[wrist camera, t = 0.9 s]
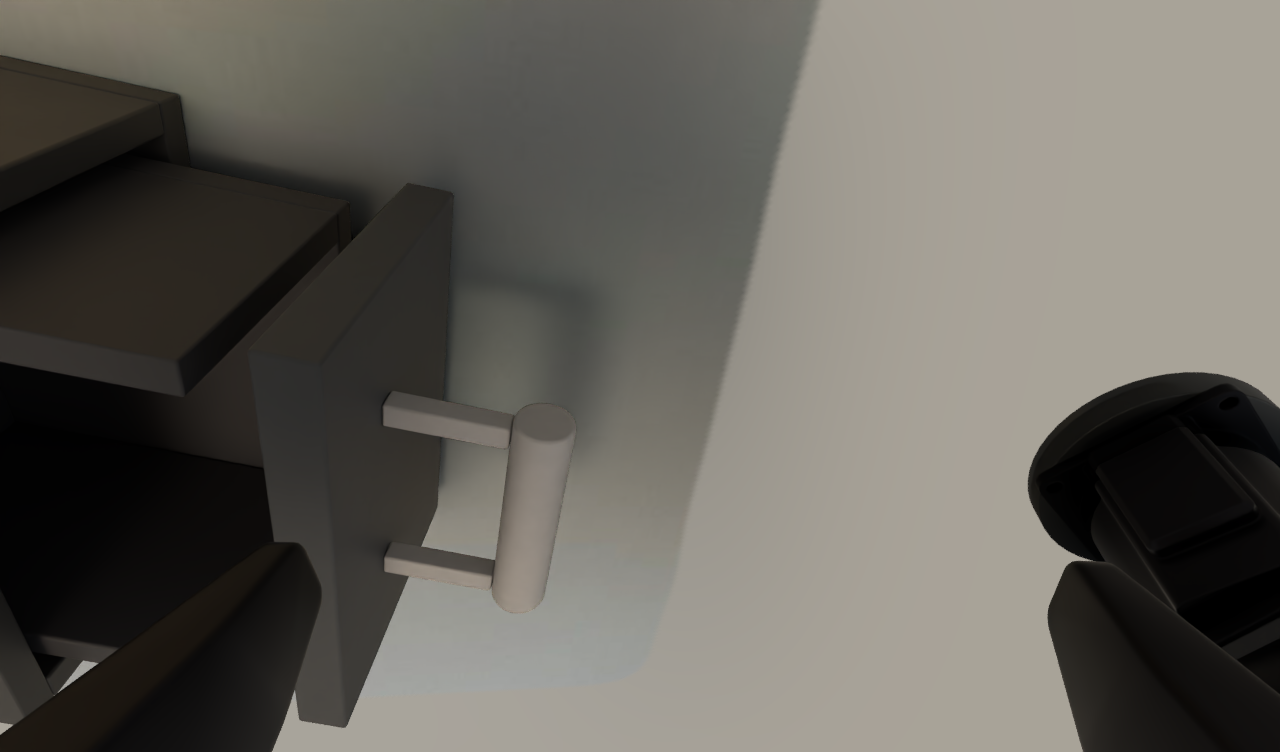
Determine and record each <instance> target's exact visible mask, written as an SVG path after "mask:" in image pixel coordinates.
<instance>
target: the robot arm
mask: <svg viewBox="0 0 1280 752" xmlns="http://www.w3.org/2000/svg"><path fill="white" fill-rule="evenodd" d="M1226 398H1228V399H1226ZM1224 399H1226V400H1225V401H1223V400H1224ZM1221 401H1222V402H1221ZM1054 482H1056V483H1054ZM1051 483H1054V484H1052V485H1050V484H1051ZM1035 485H1036V487H1037V489H1038V490H1039V492H1040V494H1041V495H1042V496H1043V498H1044V499H1045V500H1046V501H1047V502H1048V504H1049V505H1050V506H1051V507H1052V508H1053V509H1054V511H1055V512H1056V513H1057V514H1058V515H1059V516H1060V518H1061V519H1062V520H1063V521H1064V522H1065V523H1066V525H1067V526H1068V527H1069V528H1070V529H1071V531H1072V532H1073V533H1074V534H1075V535H1076V536H1077V538H1078V539H1079V540H1080V541H1081V542H1082V543H1083V545H1084V546H1085V547H1086V548H1087V549H1088V550H1089V552H1090V553H1091V554H1092V555H1093V556H1094V557H1095V559H1096V560H1097V561H1074V562H1071V563H1070V564H1068V565H1067V566H1066V568H1065V570H1064V572H1063V574H1062V576H1061V579H1060V581H1059V584H1058V586H1057V588H1056V591H1055V593H1054V595H1053V598H1052V600H1051V602H1050V605H1049V608H1048V626H1049V630H1050V634H1051V638H1052V641H1053V645H1054V649H1055V652H1056V655H1057V659H1058V663H1059V667H1060V670H1061V674H1062V678H1063V681H1064V685H1065V688H1066V692H1067V696H1068V699H1069V703H1070V707H1071V710H1072V714H1073V718H1074V721H1075V725H1076V729H1077V732H1078V736H1079V739H1080V743H1081V746H1082V749H1083V752H1280V450H1279V449H1278V447H1277V445H1276V444H1275V442H1274V440H1273V439H1272V437H1271V435H1270V434H1269V432H1268V431H1267V429H1266V427H1265V426H1264V424H1263V422H1262V421H1261V419H1260V417H1259V416H1258V414H1257V412H1256V411H1255V409H1254V407H1253V406H1252V404H1251V402H1250V401H1249V399H1248V397H1247V396H1246V394H1244V393H1243V392H1242V391H1241V390H1240V389H1239V388H1238V387H1237V386H1236V385H1235V384H1231V383H1223V384H1219V385H1217V386H1214V387H1212V388H1210V389H1208V390H1206V391H1204V392H1202V393H1200V394H1198V395H1196V396H1194V397H1192V398H1190V399H1188V400H1186V401H1184V402H1182V403H1180V404H1178V405H1176V406H1174V407H1172V408H1170V409H1168V410H1166V411H1164V412H1162V413H1160V414H1158V415H1156V416H1154V417H1152V418H1150V419H1148V420H1146V421H1144V422H1142V423H1140V424H1138V425H1136V426H1134V427H1132V428H1130V429H1128V430H1126V431H1124V432H1122V433H1120V434H1118V435H1116V436H1114V437H1112V438H1110V439H1107V440H1105V441H1103V442H1101V443H1099V444H1097V445H1095V446H1093V447H1091V448H1089V449H1087V450H1085V451H1083V452H1081V453H1079V454H1077V455H1075V456H1073V457H1071V458H1069V459H1067V460H1065V461H1063V462H1061V463H1059V464H1057V465H1055V466H1053V467H1051V468H1049V469H1047V470H1045V471H1043V472H1042V473H1040V474H1039V475H1038V476H1037V477H1036V479H1035ZM321 603H322V586H321V583H320V580H319V578H318V576H317V574H316V572H315V569H314V567H313V565H312V563H311V560H310V558H309V556H308V554H307V552H306V550H305V548H304V547H303V546H302V545H301V544H299V543H296V542H268V543H265V544H263V545H261V546H260V547H258V548H257V549H255V550H254V551H252V552H251V553H250V554H248V555H247V556H246V557H244V558H243V559H241V560H240V561H239V562H237V563H236V564H235V565H233V566H232V567H230V568H229V569H228V570H226V571H225V572H224V573H222V574H221V575H219V576H218V577H217V578H215V579H214V580H213V581H211V582H210V583H208V584H207V585H206V586H204V587H203V588H202V589H200V590H199V591H197V592H196V593H195V594H193V595H192V596H191V597H189V598H188V599H186V600H185V601H184V602H182V603H181V604H180V605H178V606H177V607H175V608H174V609H173V610H171V611H170V612H169V613H167V614H166V615H164V616H163V617H162V618H160V619H159V620H158V621H156V622H155V623H153V624H152V625H151V626H149V627H148V628H147V629H145V630H144V631H142V632H141V633H140V634H138V635H137V636H136V637H134V638H133V639H131V640H130V641H129V642H127V643H126V644H125V645H123V646H122V647H120V648H119V649H118V650H116V651H115V652H114V653H112V654H111V655H109V656H108V657H107V658H105V659H104V660H103V661H101V662H100V663H98V664H97V665H96V666H94V667H93V668H92V669H90V670H89V671H87V672H86V673H85V674H83V675H82V676H81V677H79V678H78V679H76V680H75V681H74V682H72V683H71V684H70V685H68V686H67V687H65V688H64V689H63V690H61V691H60V692H59V693H57V694H56V695H54V696H53V697H52V698H50V699H49V700H48V701H46V702H45V703H43V704H42V705H41V706H39V707H38V708H37V709H35V710H34V711H32V712H31V713H30V714H28V715H27V716H26V717H24V718H23V719H21V720H20V721H19V722H17V723H16V724H15V725H13V726H12V727H11V728H9V729H8V730H6V731H5V732H4V733H2V734H1V735H0V752H272V750H273V748H274V745H275V743H276V740H277V738H278V735H279V733H280V731H281V728H282V726H283V723H284V720H285V717H286V714H287V711H288V708H289V706H290V703H291V699H292V696H293V693H294V690H295V687H296V684H297V680H298V677H299V674H300V671H301V668H302V664H303V661H304V658H305V655H306V652H307V649H308V645H309V642H310V639H311V636H312V633H313V630H314V626H315V623H316V620H317V617H318V614H319V610H320V607H321Z"/></svg>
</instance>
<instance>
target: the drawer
mask: <svg viewBox="0 0 1280 752" xmlns="http://www.w3.org/2000/svg"><path fill="white" fill-rule="evenodd" d="M453 199H454V195H453V193H452V192H448V191H443V190H439V189H434V188H429V187H425V186H420V185H416V184H411V183H407V184H406V185H405V186H404V187H403V188H402V189H401V190H400V191H399V192H398V193H397V194H396V195H395V196H394V197H393V199H392V200H391V201H390V202H389V203H388V204H387V205H386V206H385V207H384V208H383V209H382V210H381V211H380V212H379V213H378V214H377V215H376V216H375V217H374V218H373V219H372V220H371V222H370V223H369V224H368V225H367V226H366V227H365V228H364V229H363V230H362V231H361V232H360V233H359V234H358V235H357V236H356V237H355V238H354V239H353V240H352V241H351V226H350V203H349V202H348V201H343V200H339V199H334V198H329V197H325V196H320V195H315V194H311V193H306V192H301V191H296V190H292V189H287V188H282V187H278V186H273V185H268V184H264V183H259V182H254V181H250V180H245V179H240V178H236V177H231V176H226V175H222V174H217V173H212V172H208V171H203V170H198V169H194V168H189V167H184V166H179V165H175V164H170V163H165V162H161V161H156V160H151V159H147V158H142V157H137V156H133V155H128V154H122V155H119V156H117V157H115V158H113V159H111V160H109V161H107V162H105V163H103V164H101V165H98V166H96V167H94V168H92V169H90V170H88V171H86V172H84V173H82V174H80V175H77V176H75V177H73V178H71V179H69V180H67V181H65V182H63V183H61V184H58V185H56V186H54V187H52V188H50V189H48V190H46V191H44V192H42V193H40V194H37V195H35V196H33V197H31V198H29V199H27V200H25V201H23V202H21V203H19V204H16V205H14V206H12V207H10V208H8V209H6V210H4V211H2V212H0V589H1V591H2V593H3V595H4V597H5V599H6V601H7V603H8V605H9V607H10V609H11V611H12V613H13V615H14V617H15V619H16V621H17V623H18V625H19V627H20V629H21V631H22V633H23V635H24V637H25V639H26V641H27V643H28V645H29V647H30V649H31V651H32V652H37V653H43V654H48V655H54V656H60V657H66V658H72V659H78V660H84V661H89V662H95V663H100V662H101V661H103V660H104V659H105V658H107V657H108V656H109V655H111V654H112V653H114V652H115V651H116V650H118V649H119V648H120V647H122V646H123V645H125V644H126V643H127V642H129V641H130V640H131V639H133V638H134V637H136V636H137V635H138V634H140V633H141V632H142V631H144V630H145V629H147V628H148V627H149V626H151V625H152V624H153V623H155V622H156V621H158V620H159V619H160V618H162V617H163V616H164V615H166V614H167V613H169V612H170V611H171V610H173V609H174V608H175V607H177V606H178V605H180V604H181V603H182V602H184V601H185V600H186V599H188V598H189V597H191V596H192V595H193V594H195V593H196V592H197V591H199V590H200V589H202V588H203V587H204V586H206V585H207V584H208V583H210V582H211V581H213V580H214V579H215V578H217V577H218V576H219V575H221V574H222V573H224V572H225V571H226V570H228V569H229V568H230V567H232V566H233V565H235V564H236V563H237V562H239V561H240V560H241V559H243V558H244V557H246V556H247V555H248V554H250V553H251V552H252V551H254V550H255V549H257V548H258V547H260V546H261V545H263V544H265V543H268V542H296V543H299V544H301V545H302V546H303V547H304V548H305V550H306V552H307V554H308V556H309V558H310V560H311V563H312V565H313V567H314V569H315V572H316V574H317V576H318V578H319V580H320V583H321V586H322V603H321V607H320V610H319V614H318V617H317V620H316V623H315V626H314V630H313V633H312V636H311V639H310V642H309V645H308V649H307V652H306V655H305V658H304V661H303V664H302V668H301V671H300V674H299V677H298V680H297V684H296V687H295V693H296V700H297V707H298V713H299V719H300V720H301V721H306V722H312V723H318V724H324V725H330V726H336V727H342V728H344V727H346V726H347V724H348V722H349V719H350V717H351V715H352V712H353V710H354V707H355V705H356V703H357V700H358V698H359V695H360V693H361V690H362V688H363V686H364V683H365V681H366V678H367V676H368V674H369V671H370V669H371V666H372V664H373V661H374V659H375V657H376V654H377V652H378V649H379V647H380V645H381V642H382V640H383V637H384V635H385V632H386V630H387V628H388V625H389V623H390V620H391V618H392V616H393V613H394V611H395V608H396V606H397V603H398V601H399V599H400V596H401V594H402V591H403V589H404V587H405V584H406V582H407V579H408V577H409V576H411V577H416V578H422V579H427V580H433V581H438V582H444V583H449V584H455V585H460V586H466V587H471V588H477V589H482V590H490V589H491V586H492V596H493V598H494V600H495V602H496V603H497V605H498V606H499V607H501V608H502V609H503V610H505V611H508V612H511V613H526V612H529V611H531V610H533V609H535V608H536V607H537V606H538V605H539V604H540V603H541V602H542V600H543V598H544V594H545V589H546V584H547V579H548V574H549V569H550V563H551V558H552V553H553V548H554V543H555V538H556V533H557V528H558V522H559V517H560V512H561V507H562V502H563V497H564V492H565V487H566V482H567V476H568V471H569V466H570V461H571V456H572V451H573V446H574V441H575V436H576V430H577V426H576V422H575V420H574V418H573V417H572V415H571V414H570V413H569V412H568V411H566V410H565V409H563V408H561V407H559V406H556V405H552V404H547V403H536V404H531V405H528V406H525V407H523V408H522V409H520V410H519V411H518V412H517V414H516V415H515V417H514V415H512V414H507V413H502V412H497V411H492V410H487V409H482V408H477V407H472V406H467V405H462V404H457V403H452V402H447V401H443V390H444V371H445V352H446V333H447V314H448V295H449V276H450V257H451V238H452V219H453ZM441 437H444V438H450V439H455V440H460V441H465V442H470V443H475V444H480V445H485V446H491V447H496V448H501V449H507V448H508V447H509V444H510V449H509V457H508V465H507V473H506V481H505V488H504V496H503V504H502V512H501V520H500V528H499V536H498V544H497V551H496V559H495V560H491V559H486V558H480V557H475V556H470V555H464V554H459V553H453V552H448V551H443V550H437V549H432V548H426V547H421V545H422V543H423V541H424V538H425V536H426V533H427V531H428V528H429V526H430V524H431V521H432V519H433V516H434V514H435V512H436V509H437V505H438V486H439V467H440V448H441Z"/></svg>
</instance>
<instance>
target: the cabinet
mask: <svg viewBox="0 0 1280 752" xmlns="http://www.w3.org/2000/svg"><path fill="white" fill-rule="evenodd" d="M122 154H128V155H133V156H137V157H142V158H147V159H151V160H156V161H161V162H165V163H170V164H175V165H179V166H184V167H189V168H191V167H190V161H189V155H188V149H187V143H186V137H185V131H184V125H183V119H182V113H181V107H180V101H179V96H178V95H176V94H172V93H167V92H163V91H158V90H154V89H149V88H145V87H140V86H136V85H131V84H126V83H122V82H117V81H113V80H108V79H104V78H99V77H95V76H90V75H85V74H81V73H76V72H72V71H67V70H63V69H58V68H54V67H49V66H44V65H40V64H35V63H31V62H26V61H22V60H17V59H13V58H8V57H4V56H0V212H2V211H4V210H6V209H8V208H10V207H12V206H14V205H16V204H19V203H21V202H23V201H25V200H27V199H29V198H31V197H33V196H35V195H37V194H40V193H42V192H44V191H46V190H48V189H50V188H52V187H54V186H56V185H58V184H61V183H63V182H65V181H67V180H69V179H71V178H73V177H75V176H77V175H80V174H82V173H84V172H86V171H88V170H90V169H92V168H94V167H96V166H98V165H101V164H103V163H105V162H107V161H109V160H111V159H113V158H115V157H117V156H119V155H122ZM82 661H83V660H78V659H72V658H66V657H60V656H54V655H48V654H43V653H37V652H32V651H31V649H30V647H29V645H28V643H27V641H26V639H25V637H24V635H23V633H22V631H21V629H20V627H19V625H18V623H17V621H16V619H15V617H14V615H13V613H12V611H11V609H10V607H9V605H8V603H7V601H6V599H5V597H4V595H3V593H2V591H1V589H0V722H1V723H7V724H13V725H15V724H16V723H17V722H19V721H20V720H21V719H23V718H24V717H26V716H27V715H28V714H30V713H31V712H32V711H34V710H35V709H37V708H38V707H39V706H41V705H42V704H43V703H45V702H46V701H48V700H49V699H50V698H52V697H53V696H54V695H55V694H57V693H58V691H59V690H60V689H61V688H62V686H63V685H64V684H65V683H66V681H67V680H68V679H69V677H70V676H71V675H72V674H73V672H74V671H75V670H76V669H77V667H78V666H79V665H80V663H81V662H82Z"/></svg>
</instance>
